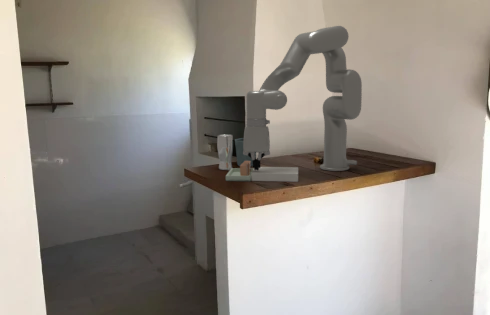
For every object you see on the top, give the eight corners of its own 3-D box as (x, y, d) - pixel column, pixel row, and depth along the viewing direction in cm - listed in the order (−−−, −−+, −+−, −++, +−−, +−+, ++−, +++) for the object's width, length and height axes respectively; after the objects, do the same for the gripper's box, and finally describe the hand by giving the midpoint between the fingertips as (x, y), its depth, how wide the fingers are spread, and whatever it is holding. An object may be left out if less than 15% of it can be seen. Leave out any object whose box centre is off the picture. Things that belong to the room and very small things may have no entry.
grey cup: (259, 166, 192) (259, 140, 190) (237, 167, 190) (237, 141, 188) (254, 162, 202) (253, 137, 200) (233, 163, 200) (233, 138, 198)
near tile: (247, 163, 169) (241, 163, 169) (246, 165, 164) (239, 165, 164) (248, 175, 170) (242, 175, 170) (246, 178, 165) (240, 178, 165)
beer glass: (221, 170, 183) (221, 136, 180) (215, 168, 189) (214, 134, 186) (236, 169, 186) (235, 135, 183) (229, 166, 192) (228, 133, 189)
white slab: (298, 174, 174) (298, 167, 173) (298, 181, 161) (298, 174, 161) (254, 173, 176) (254, 166, 176) (251, 180, 163) (251, 173, 163)
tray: (254, 173, 177) (254, 168, 177) (250, 181, 163) (250, 176, 162) (231, 172, 178) (231, 168, 178) (225, 180, 164) (225, 175, 163)
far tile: (250, 160, 175) (244, 160, 175) (249, 163, 170) (242, 163, 170) (250, 172, 176) (244, 172, 176) (249, 175, 171) (243, 175, 171)
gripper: (276, 122, 166) (275, 168, 169) (238, 122, 167) (239, 167, 171) (275, 124, 158) (275, 171, 161) (235, 124, 160) (236, 171, 163)
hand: (256, 169), depth 166 cm, fingers closed
